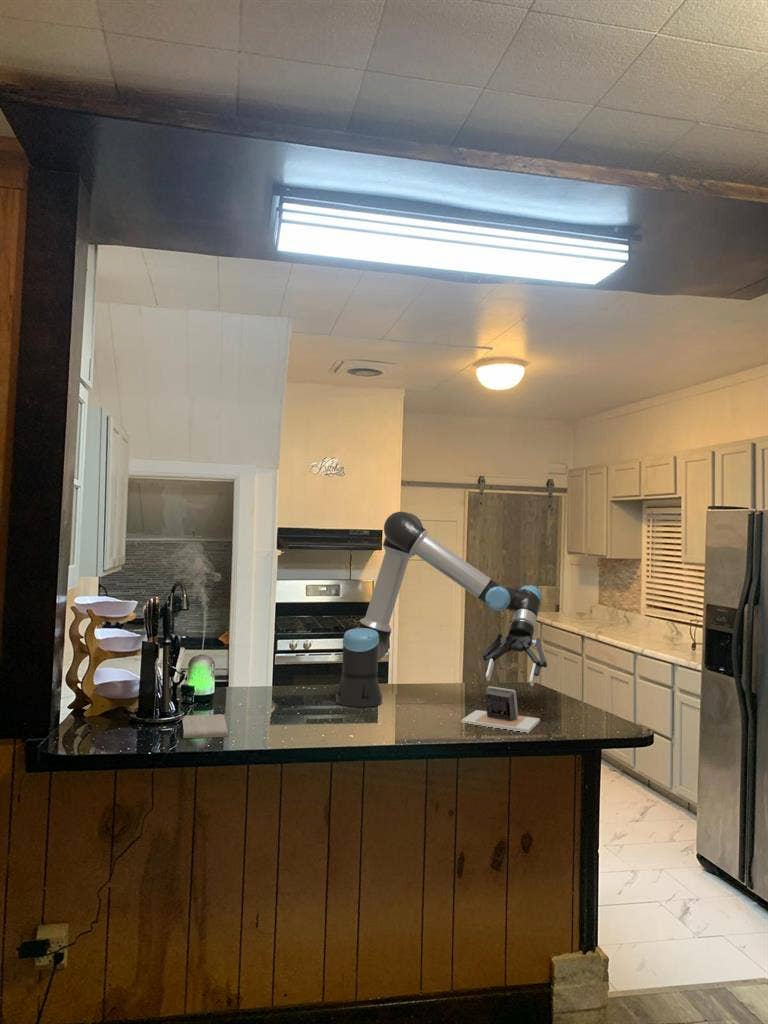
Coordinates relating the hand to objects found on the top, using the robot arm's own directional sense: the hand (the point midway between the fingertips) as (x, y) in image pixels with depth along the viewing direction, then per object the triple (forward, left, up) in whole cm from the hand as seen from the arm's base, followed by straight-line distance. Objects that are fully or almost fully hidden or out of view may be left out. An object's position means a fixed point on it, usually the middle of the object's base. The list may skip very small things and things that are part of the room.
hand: (509, 681), depth 219 cm
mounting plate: (-1, -5, -12) cm, 13 cm away
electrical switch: (-1, -5, -11) cm, 12 cm away
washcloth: (-70, -57, -12) cm, 91 cm away
